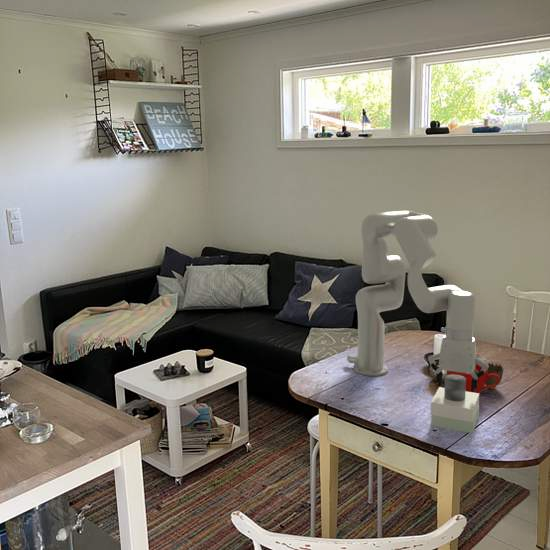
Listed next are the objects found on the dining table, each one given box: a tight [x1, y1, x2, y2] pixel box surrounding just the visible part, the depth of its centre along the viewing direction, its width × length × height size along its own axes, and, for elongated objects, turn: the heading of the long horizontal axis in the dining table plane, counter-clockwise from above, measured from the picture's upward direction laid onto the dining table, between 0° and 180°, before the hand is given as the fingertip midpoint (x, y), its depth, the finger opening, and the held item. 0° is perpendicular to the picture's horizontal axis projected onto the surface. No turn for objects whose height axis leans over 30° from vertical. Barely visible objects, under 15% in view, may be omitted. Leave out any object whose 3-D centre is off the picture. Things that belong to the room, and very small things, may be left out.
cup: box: [484, 362, 505, 391], centre depth 202 cm, size 8×7×8 cm
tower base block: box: [430, 405, 480, 434], centre depth 180 cm, size 12×12×4 cm
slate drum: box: [444, 374, 466, 401], centre depth 179 cm, size 6×6×6 cm
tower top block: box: [429, 386, 480, 422], centre depth 180 cm, size 12×12×4 cm
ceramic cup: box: [446, 364, 501, 394], centre depth 197 cm, size 13×17×10 cm
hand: (456, 387), depth 179 cm, fingers open, 9 cm apart
